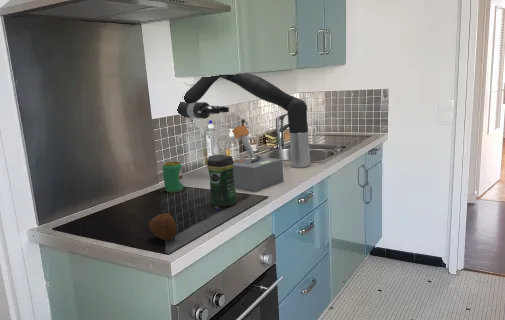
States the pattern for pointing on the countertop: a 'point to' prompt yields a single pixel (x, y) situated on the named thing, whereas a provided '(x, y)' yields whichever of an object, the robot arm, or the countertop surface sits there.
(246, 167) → the switch box
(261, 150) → the countertop surface
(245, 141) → the mallet
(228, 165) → the coffee jar
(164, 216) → the potato
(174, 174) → the beverage can
